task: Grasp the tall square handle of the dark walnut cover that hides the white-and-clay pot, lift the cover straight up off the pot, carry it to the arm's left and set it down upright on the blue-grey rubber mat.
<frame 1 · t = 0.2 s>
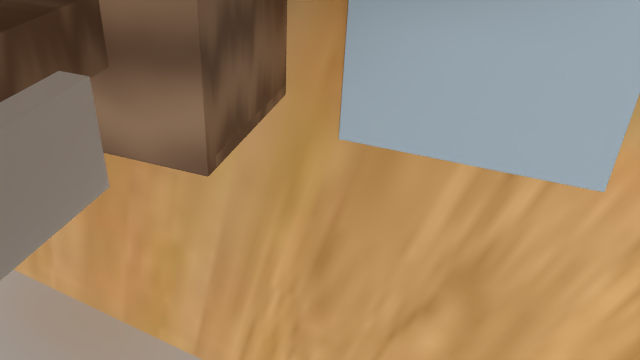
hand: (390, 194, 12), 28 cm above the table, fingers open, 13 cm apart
mat: (491, 33, 37), on the table
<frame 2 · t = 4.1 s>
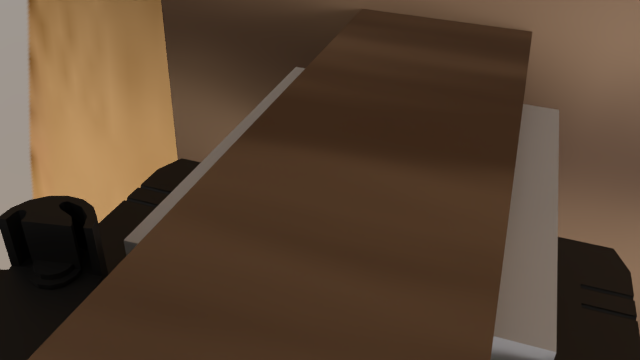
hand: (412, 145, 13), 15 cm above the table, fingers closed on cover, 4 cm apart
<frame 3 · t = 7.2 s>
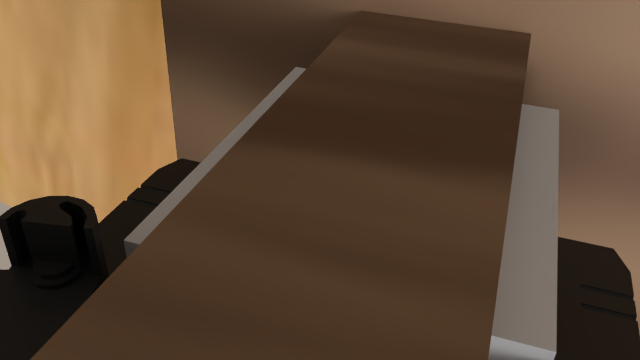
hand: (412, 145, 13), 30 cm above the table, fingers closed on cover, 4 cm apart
when the fingers open (17 cm above the table, at t = 10.4 s): cover drops 2 cm, resting on mat.
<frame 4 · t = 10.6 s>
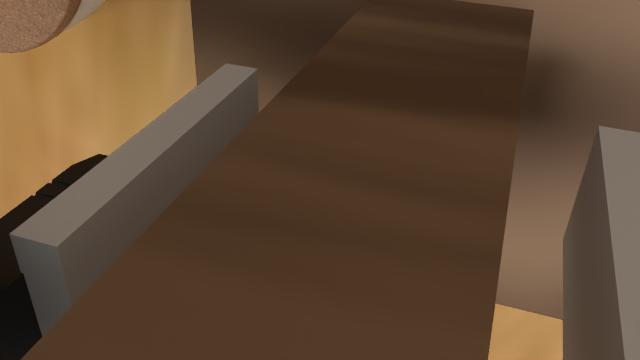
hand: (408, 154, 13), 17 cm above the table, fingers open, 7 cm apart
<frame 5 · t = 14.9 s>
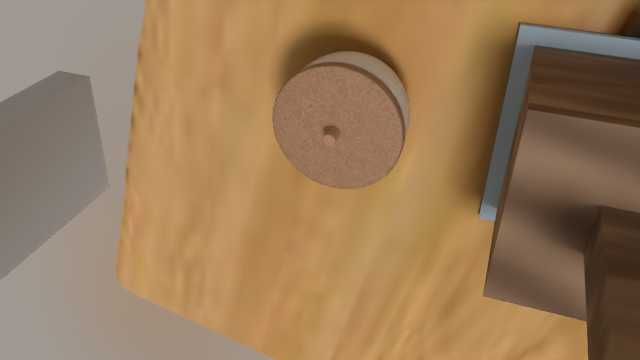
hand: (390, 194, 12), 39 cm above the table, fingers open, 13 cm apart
mat: (612, 147, 49), on the table
lidded jar: (362, 92, 54), on the table
cover: (612, 150, 49), point 1 cm above the table, touching mat
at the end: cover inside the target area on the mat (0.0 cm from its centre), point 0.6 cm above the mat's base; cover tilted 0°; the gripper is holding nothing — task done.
